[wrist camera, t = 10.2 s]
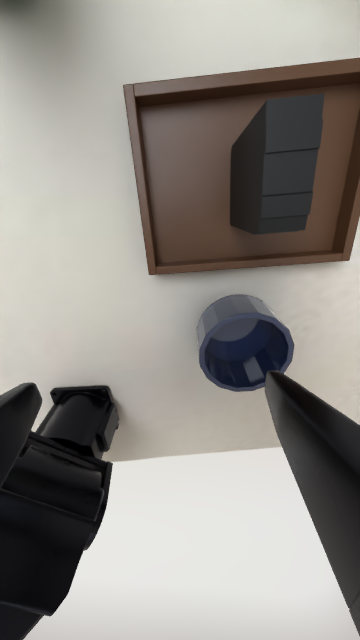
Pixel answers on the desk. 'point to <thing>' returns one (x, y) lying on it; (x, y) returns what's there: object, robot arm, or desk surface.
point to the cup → (242, 343)
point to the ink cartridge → (276, 166)
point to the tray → (214, 167)
